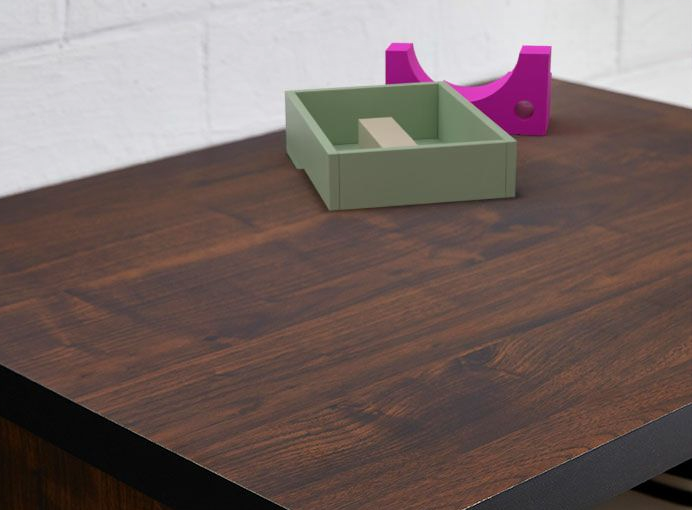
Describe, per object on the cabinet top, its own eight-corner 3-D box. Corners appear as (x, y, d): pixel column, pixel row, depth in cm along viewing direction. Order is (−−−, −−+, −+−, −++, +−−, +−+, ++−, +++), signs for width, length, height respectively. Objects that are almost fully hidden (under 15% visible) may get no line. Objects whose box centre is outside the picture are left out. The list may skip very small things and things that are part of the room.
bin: (443, 141, 127) (444, 80, 125) (514, 211, 107) (517, 141, 105) (286, 152, 125) (284, 90, 122) (329, 225, 105) (328, 154, 103)
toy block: (549, 119, 134) (553, 40, 131) (545, 135, 128) (549, 54, 125) (396, 114, 137) (396, 37, 134) (385, 130, 131) (385, 50, 128)
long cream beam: (358, 152, 122) (358, 118, 121) (391, 150, 122) (391, 116, 121) (394, 198, 109) (394, 161, 108) (430, 195, 110) (431, 158, 108)
